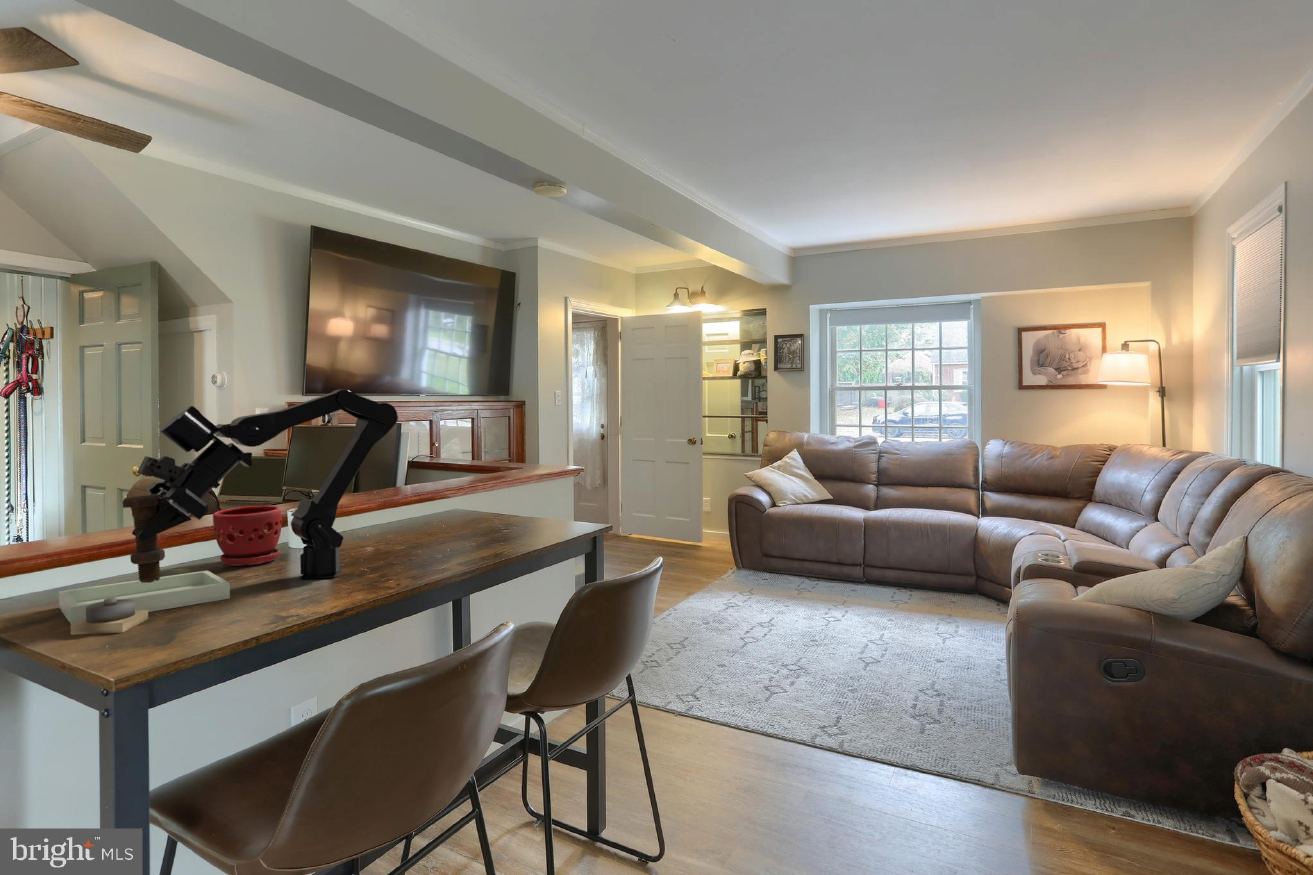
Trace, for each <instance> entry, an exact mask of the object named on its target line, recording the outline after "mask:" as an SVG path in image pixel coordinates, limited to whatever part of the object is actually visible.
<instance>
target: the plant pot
mask: <svg viewBox="0 0 1313 875" xmlns="http://www.w3.org/2000/svg"><path fill="white" fill-rule="evenodd" d="M282 518H283V517H282V508H281V507H280V506H275V505H251V506H249V505H248V506H247V505H246V506H240V507H232V508H228V509H221V510H218V511H216V512H214V513H213V514H212V521H213V522H212V523H213V525H212V526H213V532H214V536H215V540H216V543H217V545H218V548H219V549H220V550H221V552H222V554H221V555H220V556H219V559H220V561H221V563H223V564H225V565H228V566H233V567H244V566H245V565H247V566H257V565H261V564H264V563H265V564H266V563H268V562H271V561H273V560H275V559H276V558H278V556H280V553H281V550H280V549H279V548H276V547H277V545H278V544H279V540H280V537H281V532H282ZM266 526H267V527H268V528H267V530H265V528H266ZM245 567H246V566H245Z"/></svg>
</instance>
